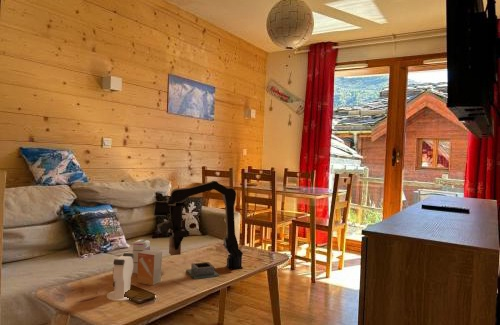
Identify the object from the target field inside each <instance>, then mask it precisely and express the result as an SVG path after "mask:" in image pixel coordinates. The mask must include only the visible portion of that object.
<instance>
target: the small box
mask: <svg viewBox="0 0 500 325" xmlns="http://www.w3.org/2000/svg"><path fill="white" fill-rule="evenodd" d="M162 258H163V251H162V250H161V251H158V250H155V249H154V250H152V249H150V250H144V251H141V252H139V253H138V270H137V275H136V276H137V277H136V283H137V284H144V285H149V286H155V285H156V284H159V283H160V282H162V262H163V260H162Z"/></svg>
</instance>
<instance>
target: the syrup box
mask: <svg viewBox="0 0 500 325" xmlns="http://www.w3.org/2000/svg"><path fill="white" fill-rule="evenodd" d="M150 247H151V241H150V240H148V239H138V240H136V241H132V253H133V256H134V257H133V272H132V274H137V270H138V253H139V252H141V251H144V250H151V248H150Z"/></svg>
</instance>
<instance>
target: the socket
mask: <svg viewBox="0 0 500 325" xmlns="http://www.w3.org/2000/svg"><path fill="white" fill-rule="evenodd" d="M190 265H191V268H189V269H188V268H187V269H186V273H187V274H188V275H189V276H190V277H191V278H192V279H193V280H198V279H209V278H216V277H217V278H218V277H220V274H219V273H218V272H217V271H215V266H214V265H213V264H211V263H210V262H209V261H205V262H203V261H202V262H196V263H195V262H194V263H191V264H190Z"/></svg>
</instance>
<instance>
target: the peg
mask: <svg viewBox="0 0 500 325" xmlns="http://www.w3.org/2000/svg"><path fill="white" fill-rule="evenodd" d="M181 247H182V242H181V243H180V245H179V247H178V249H177V250H175V246H174V239H173V238H172V237H171V236H170V235H169V244H168V254H169V255H170V256H180V255H181V253H182V252H181V251H182V250H181V249H182V248H181Z"/></svg>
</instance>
